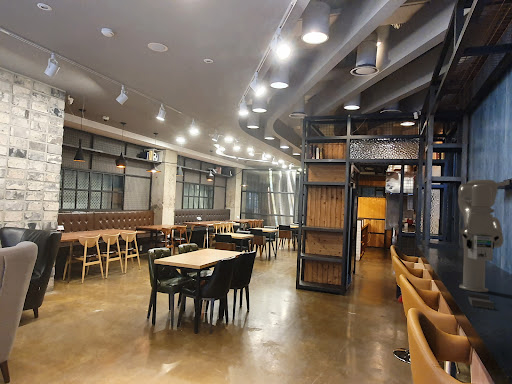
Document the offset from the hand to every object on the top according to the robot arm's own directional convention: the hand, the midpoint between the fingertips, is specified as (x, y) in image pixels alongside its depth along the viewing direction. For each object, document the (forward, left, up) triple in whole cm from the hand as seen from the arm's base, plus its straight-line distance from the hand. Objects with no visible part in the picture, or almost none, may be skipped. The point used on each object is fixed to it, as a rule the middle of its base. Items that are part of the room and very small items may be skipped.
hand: (479, 249), depth 161 cm
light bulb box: (0, 0, -5) cm, 5 cm away
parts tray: (+11, 0, -22) cm, 25 cm away
